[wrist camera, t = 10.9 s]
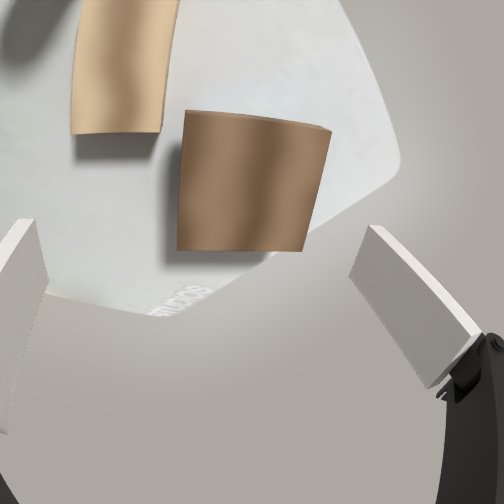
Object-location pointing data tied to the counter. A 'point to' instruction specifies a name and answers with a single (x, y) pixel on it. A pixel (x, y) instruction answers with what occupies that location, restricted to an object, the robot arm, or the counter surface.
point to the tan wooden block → (122, 65)
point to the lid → (247, 182)
